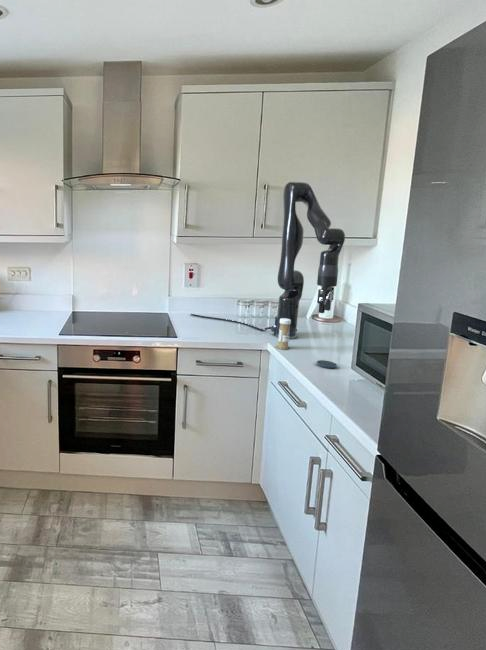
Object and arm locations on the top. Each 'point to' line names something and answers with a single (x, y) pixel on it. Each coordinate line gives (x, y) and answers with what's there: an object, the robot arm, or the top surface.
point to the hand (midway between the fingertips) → (324, 311)
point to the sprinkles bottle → (284, 333)
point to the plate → (326, 364)
